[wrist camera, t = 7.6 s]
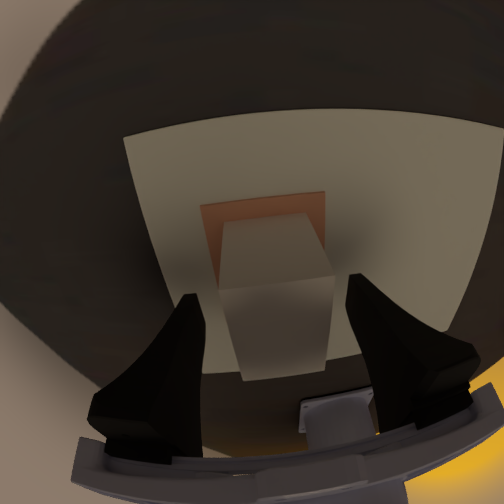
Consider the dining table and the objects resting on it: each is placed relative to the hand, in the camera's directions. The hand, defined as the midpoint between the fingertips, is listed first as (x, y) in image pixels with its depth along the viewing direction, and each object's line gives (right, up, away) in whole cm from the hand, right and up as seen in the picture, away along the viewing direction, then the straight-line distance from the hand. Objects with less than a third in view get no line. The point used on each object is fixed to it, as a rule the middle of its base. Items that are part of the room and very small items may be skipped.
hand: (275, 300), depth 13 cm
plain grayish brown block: (0, +1, +2) cm, 3 cm away
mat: (+5, +1, +3) cm, 6 cm away
